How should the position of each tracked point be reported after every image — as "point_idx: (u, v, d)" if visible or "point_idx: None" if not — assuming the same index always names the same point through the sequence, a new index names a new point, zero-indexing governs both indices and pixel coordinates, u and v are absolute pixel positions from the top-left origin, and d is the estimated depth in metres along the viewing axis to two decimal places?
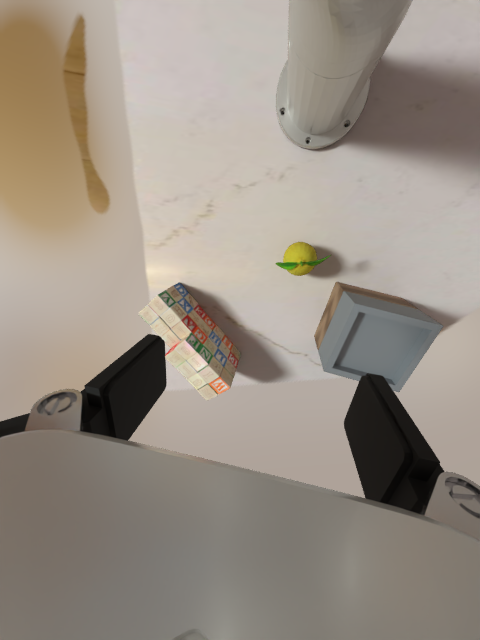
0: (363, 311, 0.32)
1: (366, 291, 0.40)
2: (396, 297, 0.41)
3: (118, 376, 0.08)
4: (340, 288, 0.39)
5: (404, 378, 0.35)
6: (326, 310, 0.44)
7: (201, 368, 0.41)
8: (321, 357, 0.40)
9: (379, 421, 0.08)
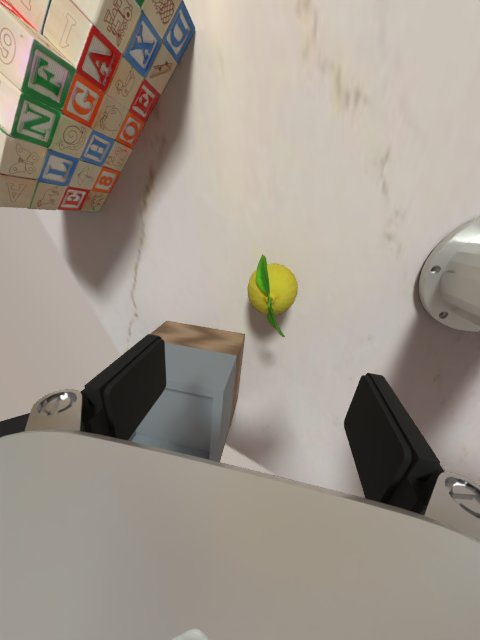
0: (214, 402, 0.22)
1: (239, 371, 0.32)
2: (237, 396, 0.36)
3: (118, 376, 0.08)
4: (238, 347, 0.29)
5: None
6: (205, 331, 0.32)
7: None
8: None
9: (379, 421, 0.08)
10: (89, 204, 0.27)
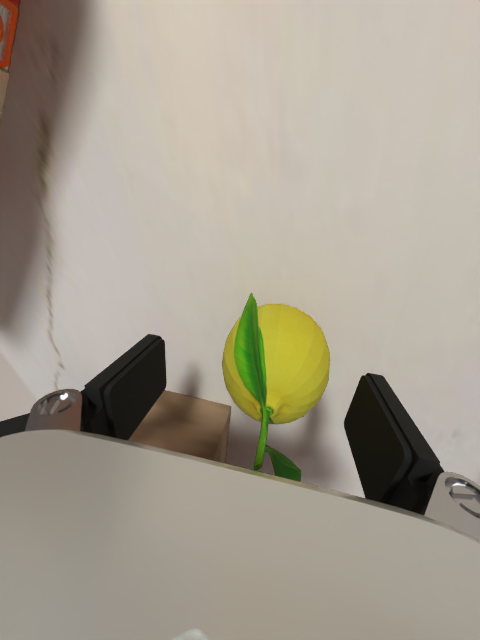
0: None
1: None
2: None
3: (118, 376, 0.08)
4: (213, 447, 0.16)
5: None
6: (164, 402, 0.19)
7: None
8: None
9: (379, 421, 0.08)
10: None
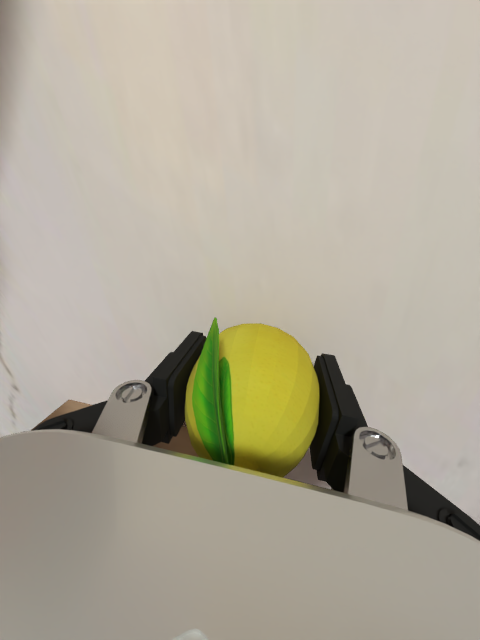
0: None
1: None
2: None
3: (177, 369, 0.09)
4: None
5: None
6: None
7: None
8: None
9: (322, 391, 0.09)
10: None
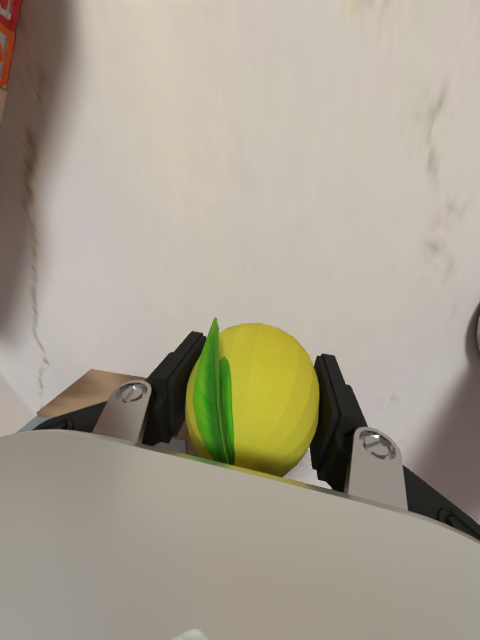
0: None
1: None
2: None
3: (177, 369, 0.09)
4: None
5: None
6: None
7: None
8: None
9: (322, 391, 0.09)
10: None
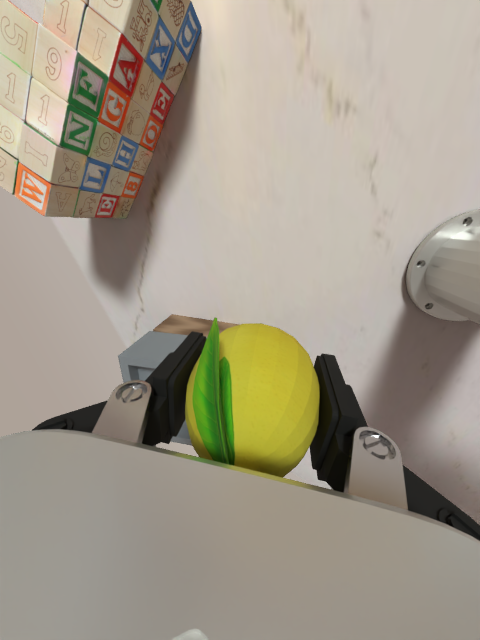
0: None
1: None
2: None
3: (177, 369, 0.09)
4: None
5: None
6: (209, 323, 0.34)
7: (39, 130, 0.18)
8: (140, 341, 0.28)
9: (322, 391, 0.09)
10: (119, 210, 0.29)
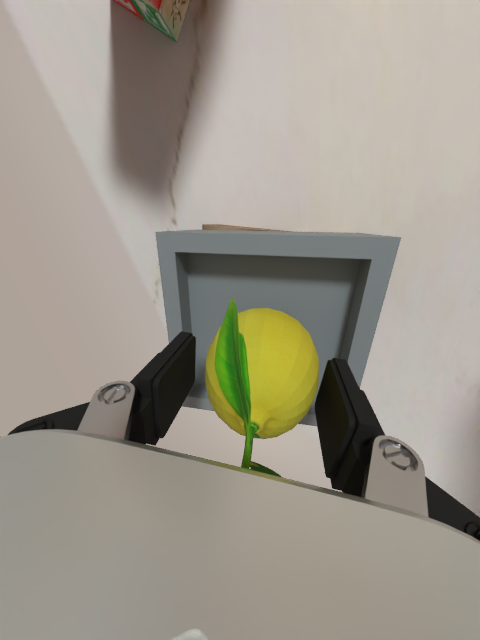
0: (373, 271, 0.11)
1: None
2: None
3: (163, 369, 0.08)
4: None
5: (210, 405, 0.16)
6: (285, 231, 0.21)
7: None
8: (188, 230, 0.15)
9: (336, 397, 0.09)
10: (170, 1, 0.16)
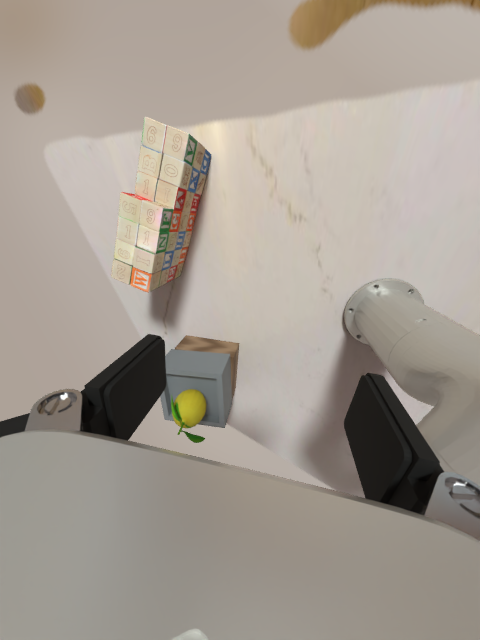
0: (217, 381, 0.38)
1: (235, 368, 0.49)
2: (235, 386, 0.52)
3: (118, 376, 0.08)
4: (234, 352, 0.45)
5: None
6: (212, 342, 0.48)
7: (144, 248, 0.32)
8: (166, 356, 0.43)
9: (379, 421, 0.08)
10: (177, 273, 0.43)
